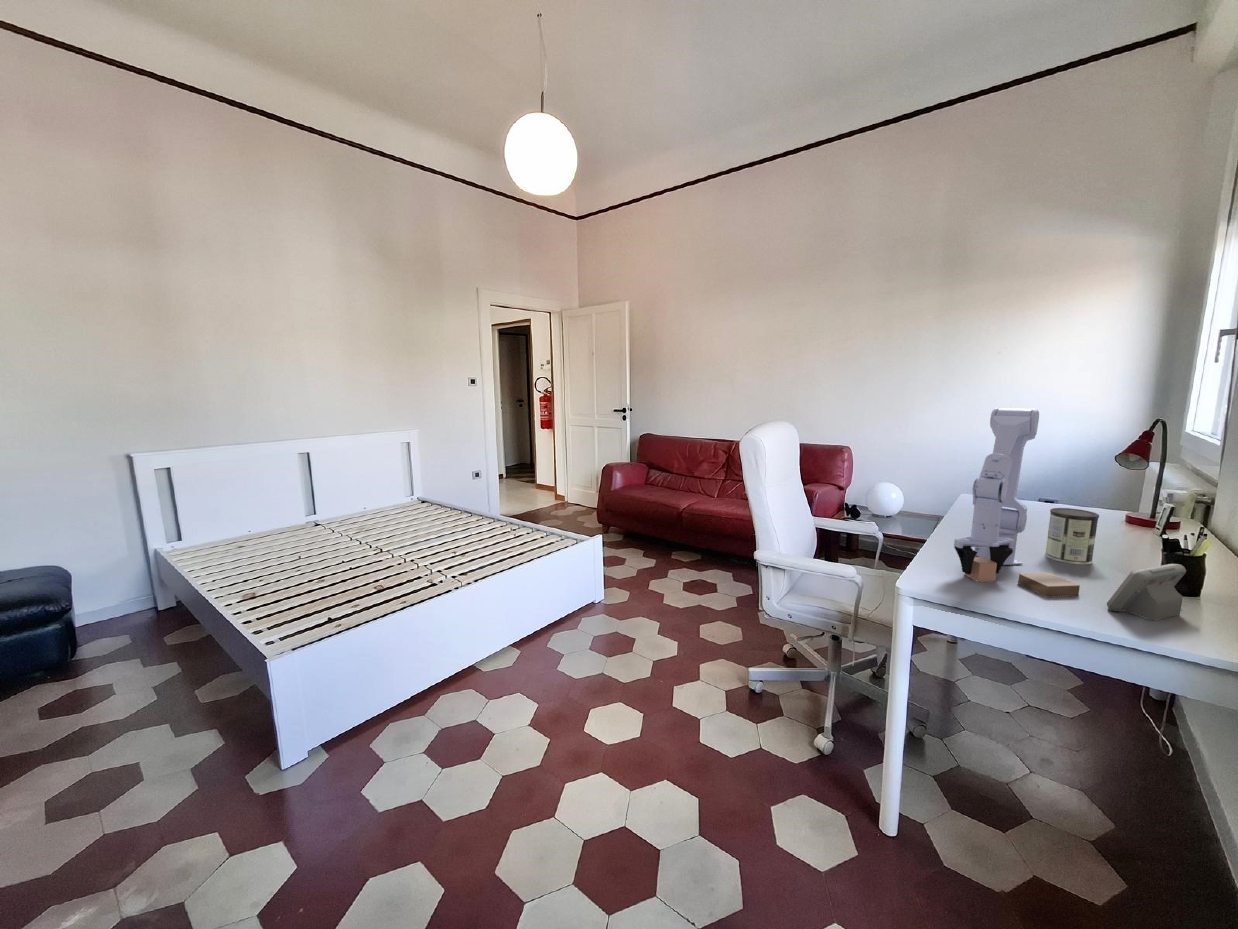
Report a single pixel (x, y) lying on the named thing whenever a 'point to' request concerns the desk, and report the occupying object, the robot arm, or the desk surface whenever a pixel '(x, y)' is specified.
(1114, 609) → the digital clock
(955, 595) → the desk surface
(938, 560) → the desk surface
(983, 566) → the terracotta block
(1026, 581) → the walnut slab
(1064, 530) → the coffee can
